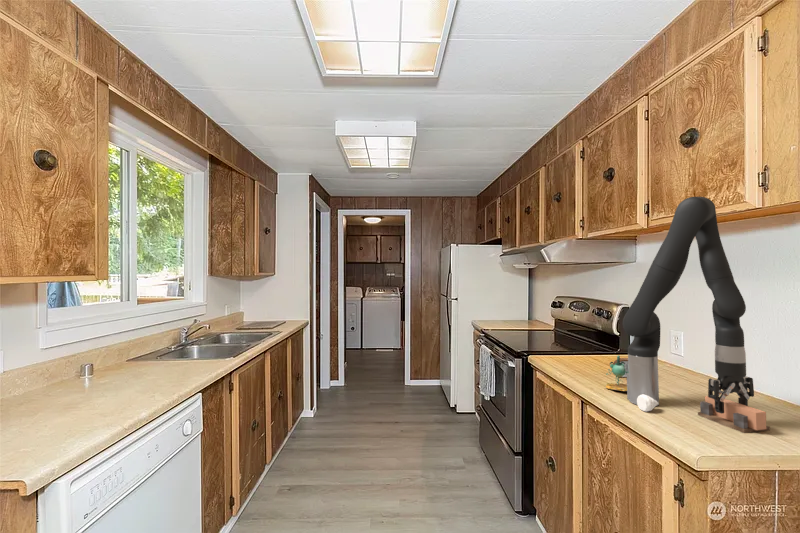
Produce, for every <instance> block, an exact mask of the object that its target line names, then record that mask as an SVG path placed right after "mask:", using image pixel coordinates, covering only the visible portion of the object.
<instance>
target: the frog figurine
mask: <svg viewBox="0 0 800 533" xmlns="http://www.w3.org/2000/svg"><path fill="white" fill-rule="evenodd" d="M620 358H621V356H620V355H617V356H616V360H617V363H615V365H613V363H614V361H610V362H609V366H610V368H611V370H610V368H608V372H606V376H608V375H611V374H613V375H614V376H615V378H616V380H615V382H616V383H615V382H613V383H606V385H605V388H606V389H607V390H611V391H621V392H627V383H623V380H622V379H620V378H622V377H621V376H624V375H625V372H626V370H625V367H624V364H625V363H624V362H621V363H620ZM622 363H624V364H622ZM628 373H629V372H628ZM620 381H621V383H620Z"/></svg>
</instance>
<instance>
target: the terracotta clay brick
mask: <svg viewBox="0 0 800 533" xmlns="http://www.w3.org/2000/svg"><path fill="white" fill-rule="evenodd" d="M704 398H705V400H704V401H705V402H708V403H711V404H713V414H714V415H716V416H719V417H722V418H725V419H727V420H730V421H733V422H734V419H733V413H739V414H742V415H745V416H748V427H749V428H752V429H754V430H764V429H766V426H767V411H763V410H762V409H759V408H758V409H757V408H754V407H751V406H749V405H748V406H746V405H743V404H739V403H738V402H735V401H733V400H731V399H730V400H729V399H727V398H725V399H724V401H723V402H724V413H722V414H721V413H718V412H716V410H715V400H714V399H712V398H709V397H708V395H706V396H704Z"/></svg>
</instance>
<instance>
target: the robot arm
mask: <svg viewBox="0 0 800 533" xmlns="http://www.w3.org/2000/svg"><path fill="white" fill-rule="evenodd" d="M694 240H696V244H697V248H698V258H699V264H700V268H701V272H702V274H703V277H704V281H705V283H706V286H707V287H708V289H710V291H711V292H712V293H711V294H712V295H713V299H714V300H713V301H712V307H711V310H712V311H711V312H712V318H713V322H714V337H715V339H714V342H715V345H714V371H715V373H716V374H717V379H713V378H709V379H708V385H707V386H708V387H707V389H708V390H707V392H708V393H707V396H708V397H709V398H712V399H714V400H715V410H716V412H718V413H721V414H722V413H724V402H723V401H724V399H726V397H729V395H730V394H733V393H736V394H737V396H738V397H737V398H738V399H737V400H738V401H737V403H739V404H743V405H746V406H749V399H750V398H751V397H752V398H753V397H755V390H754V389H755V388H754V378H752V377H750V376H747V357H746V356H747V354H746V348H745V332H744V330H743V328H742V326H741V319H740V318H741V317H743V316H744V315H745V313H746V311H747V306H746V302H745V299H744V296H743V295H742V293H741V291H740V289H739V288H738V286H737V284H736V282H735V278H734V276H733V272H732V269H731V266H730V263H729V261H728V258H727V255H726V252H725V249H724V246H723V243H722V239H721V235H720V232H719V226H718V219H717V210H716V205H715V203H714V201H713V200H711V199H710V198H708V197H705V196H689V197H687V198H684V199H683V200H682V201H680V203H678V205H677V207H676V209H675V211H674V215H673V217H672V220H671V223H670V225H669V229H668V232H667V234H666V237H665V238H664V240H663V242H662V244H661V245H660V247H659V249H658V251H657V252H656V255H655V257H654V259H653V260H652V262H651V265H650V267H649V269H648V271H647V274H646V276H645V278H644V280H643V282H642V284H641V286H640V288H639V290H638V293H637V295H636V297H635V298H634V300H633V301H632V303H631V304H630V306H629V307H628V310H627V311H626V313H625V314H624V317H623V318H622V328H623V330H624V332H625V333H626V335H628V336H630V337H633V340H632V342H631V343H630V344H629V345H628V347H627V358H628V371H629V373H627V378H626V384H627V391H626V395H627V398H626V399H627V400H629V403H632V404H634V405H637V398H638V396H640V395H642V394H644V395H647V396H649V397H651V398H653V399H654V400H656V401H657V402H658V405H656V406H655V407H657V406H659V405H660V388H659V383H660V382H659V355H658V352H659V349H660V347H661V322H660V318H659V316H658V314H656V313H655V310H656V308H657V307H658V305H659V303H661V302H662V300H664V299H665V298H666V297H667V296H668V295H669V294H670V292H672V290H673V289H674V288H675V287H676V286H677V284H678V282H679V280H680V279H681V277H682V274H683V273H684V270H685V269H686V267H687V266H686V265H687V263H688V259H689V258H688V257H689V254H690V251H691V250H690V249H691V246H692V243H693V241H694ZM637 406H638V405H637Z"/></svg>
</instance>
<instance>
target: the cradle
mask: <svg viewBox="0 0 800 533" xmlns="http://www.w3.org/2000/svg"><path fill="white" fill-rule="evenodd" d="M699 404H700V411H698V412H697V416H699V417H701V418H705V419H707V420H709V421H712V422H714V423H717V424H719V425H722V426H725V427H728V428H730V429H733V430H736V431H738V432H741V433H743V434H746V433H755V432H757V433H758V432H765V431H770V430H771V429H770V426H768V425H766V429H764V430H754V429H752V428H749V427H748V416H745V415H742V414H739V413H733V419H734V422H733V421H730V420H727V419H725V418H722V417H719V416H716V415H714V414H713V404H711V403H708V402H705V400H703V401H700V403H699Z"/></svg>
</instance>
